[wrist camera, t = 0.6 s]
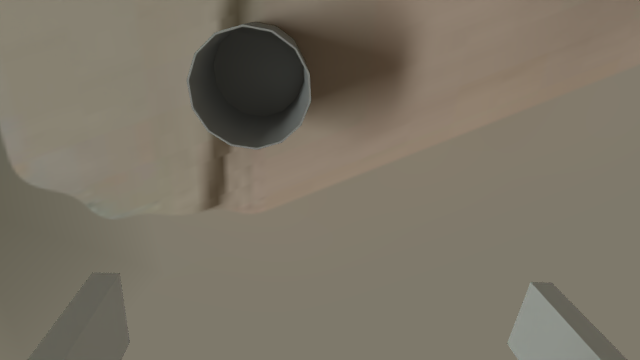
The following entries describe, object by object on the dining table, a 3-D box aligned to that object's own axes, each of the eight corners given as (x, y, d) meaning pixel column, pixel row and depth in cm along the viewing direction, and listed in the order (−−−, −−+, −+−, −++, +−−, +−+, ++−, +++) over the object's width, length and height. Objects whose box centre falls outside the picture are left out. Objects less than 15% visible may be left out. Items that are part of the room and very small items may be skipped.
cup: (312, 33, 34) (321, 39, 25) (297, 121, 37) (301, 156, 28) (216, 14, 33) (189, 14, 24) (210, 107, 36) (183, 138, 27)
